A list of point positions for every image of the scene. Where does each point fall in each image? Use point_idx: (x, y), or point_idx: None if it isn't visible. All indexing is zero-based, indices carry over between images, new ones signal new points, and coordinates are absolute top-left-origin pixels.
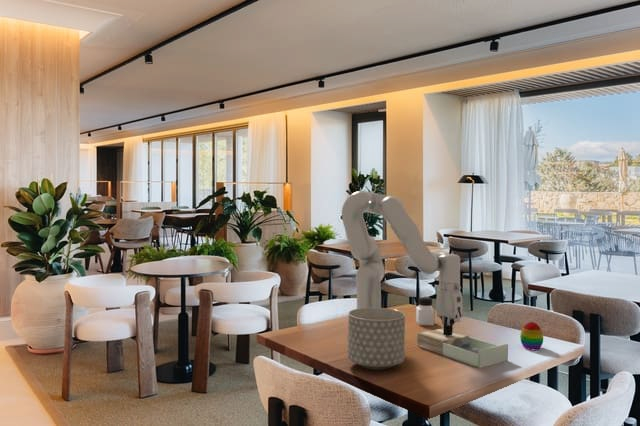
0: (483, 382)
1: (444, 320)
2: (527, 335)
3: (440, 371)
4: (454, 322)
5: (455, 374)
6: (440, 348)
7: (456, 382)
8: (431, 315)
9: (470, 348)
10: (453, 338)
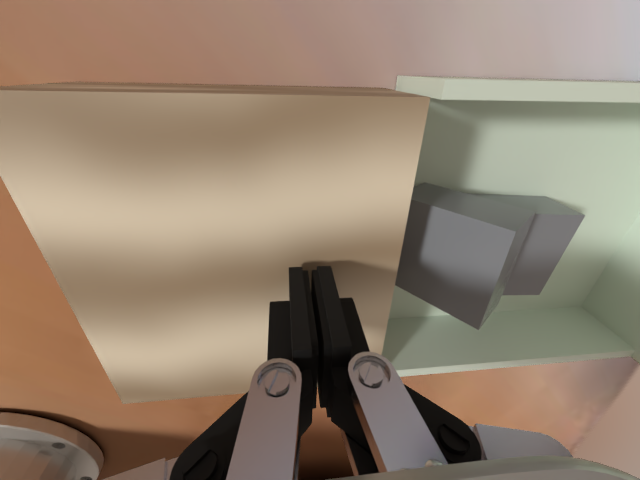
0: (619, 375)
1: (297, 473)
2: None
3: (468, 413)
4: (431, 413)
5: (519, 396)
6: None
7: (546, 421)
8: None
9: (518, 256)
10: (384, 295)
